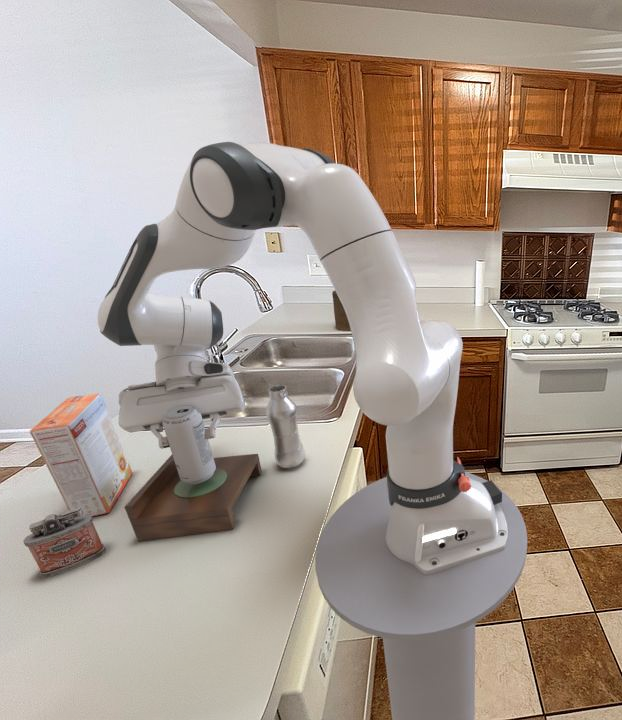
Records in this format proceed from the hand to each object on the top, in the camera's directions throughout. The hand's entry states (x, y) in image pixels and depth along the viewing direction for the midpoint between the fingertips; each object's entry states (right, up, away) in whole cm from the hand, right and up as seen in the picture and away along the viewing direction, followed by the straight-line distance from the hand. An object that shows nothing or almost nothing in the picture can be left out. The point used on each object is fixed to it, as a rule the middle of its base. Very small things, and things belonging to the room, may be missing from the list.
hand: (188, 442), depth 76 cm
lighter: (-14, -19, -8) cm, 25 cm away
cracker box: (-23, -13, +7) cm, 28 cm away
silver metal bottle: (+11, -9, +19) cm, 24 cm away
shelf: (0, -14, +6) cm, 15 cm away
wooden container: (-9, +33, +126) cm, 130 cm away
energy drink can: (0, -8, +4) cm, 9 cm away
